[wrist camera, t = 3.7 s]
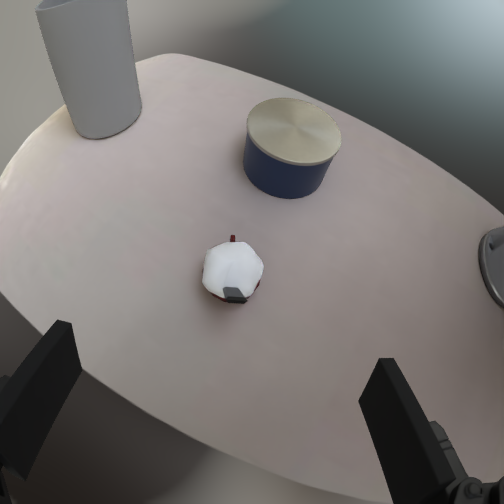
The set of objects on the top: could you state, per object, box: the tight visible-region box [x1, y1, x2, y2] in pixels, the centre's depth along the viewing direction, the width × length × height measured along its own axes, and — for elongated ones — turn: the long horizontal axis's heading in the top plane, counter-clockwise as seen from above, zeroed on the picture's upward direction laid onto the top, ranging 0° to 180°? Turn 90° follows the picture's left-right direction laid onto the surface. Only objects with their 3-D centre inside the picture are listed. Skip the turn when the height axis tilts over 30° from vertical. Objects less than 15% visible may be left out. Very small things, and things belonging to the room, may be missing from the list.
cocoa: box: [202, 235, 264, 304], centre depth 30 cm, size 10×6×12 cm, turn 157°
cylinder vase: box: [35, 0, 142, 139], centre depth 34 cm, size 12×12×25 cm
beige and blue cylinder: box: [243, 98, 341, 199], centre depth 40 cm, size 12×12×8 cm
